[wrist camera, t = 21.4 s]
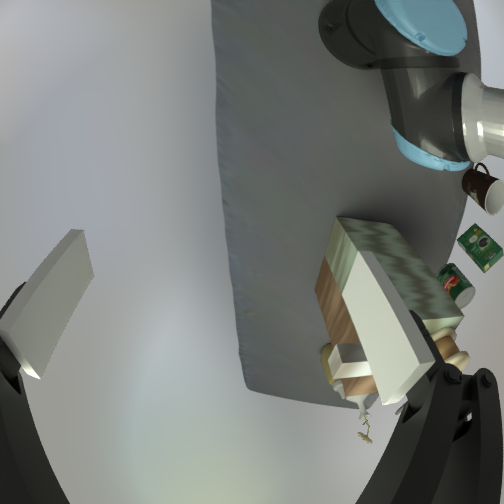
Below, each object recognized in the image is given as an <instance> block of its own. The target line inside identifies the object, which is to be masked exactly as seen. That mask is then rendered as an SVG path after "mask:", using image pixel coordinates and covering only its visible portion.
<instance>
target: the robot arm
mask: <svg viewBox="0 0 504 504" xmlns="http://www.w3.org/2000/svg"><path fill="white" fill-rule="evenodd" d="M319 32H320V36H321V39H322V41H323V43H324V44H325V46H326V48H327V49H328V50H329V51H330V53H331V54H332V55H333V56H335V57H336V58H337V59H338V60H340V61H341V62H343V63H344V64H346V65H348V66H351V67H353V68H357V69H363V70H370V69H378V68H380V70H381V74H382V78H383V82H384V86H385V90H386V94H387V99H388V104H389V108H390V113H391V126H392V129H393V130H394V135H395V140H396V144H397V146H398V148H399V150H400V151H401V153H402V154H403V155H404V156H405V157H407V158H408V159H410V160H411V161H413V162H415V163H417V164H419V165H422V166H425V167H428V168H431V169H436V170H443V169H447V170H449V171H459V170H463V169H465V168H466V167H468V166H469V164H470V162H475V163H478V162H480V161H481V160H482V159H483V158H485V157H486V156H487V155H493V156H497V157H500V158H503V159H504V89H498V88H492V87H487V86H486V85H484V84H483V83H482V81H481V80H480V79H479V78H478V77H477V76H476V75H475V74H473V73H465V72H461V69H460V65H459V60H458V56H457V54H458V53H459V52H460V51H461V50H462V49H463V48H464V47H465V42H464V41H465V40H467V29H466V24H465V21H464V18H463V16H462V14H461V12H460V10H459V9H458V7H457V6H456V4H455V3H454V2H453V0H333V1H332V2H330V3H329V4H328V5H327V6H326V7H325V8H324V9H323V11H322V12H321V15H320V18H319ZM93 277H94V274H93V270H92V266H91V262H90V258H89V253H88V249H87V245H86V240H85V235H84V230H75V229H71V230H70V231H69V232H68V233H67V235H66V236H65V237H64V238H63V239H62V240H61V241H60V242H59V243H58V244H57V246H56V247H55V248H54V249H53V250H52V251H51V253H50V254H49V255H48V256H47V257H46V258H45V260H44V261H43V262H42V263H41V264H40V266H39V267H38V268H37V269H36V271H35V272H34V273H33V274H32V276H31V277H30V278H29V280H28V281H27V282H24V283H23V284H22V285H20V286H19V287H18V288H17V289H16V290H15V291H14V293H13V294H12V295H11V297H10V299H8V301H7V302H6V305H4V307H3V308H2V310H1V311H0V504H70V503H69V501H68V500H67V498H66V496H65V494H64V492H63V490H62V488H61V486H60V485H59V482H58V480H57V478H56V476H55V474H54V472H53V470H52V468H51V465H50V463H49V461H48V458H47V456H46V454H45V451H44V449H43V446H42V444H41V441H40V438H39V436H38V433H37V430H36V427H35V424H34V421H33V418H32V414H31V411H30V408H29V404H28V400H27V397H26V393H25V389H24V384H23V380H22V377H21V374H20V372H19V369H20V367H21V366H22V368H23V369H24V370H25V372H26V373H27V374H28V375H31V376H33V377H36V378H38V379H41V378H42V376H43V373H44V371H45V369H46V366H47V364H48V362H49V360H50V358H51V355H52V353H53V351H54V349H55V347H56V345H57V342H58V341H59V339H60V337H61V335H62V333H63V331H64V329H65V327H66V325H67V323H68V321H69V319H70V317H71V315H72V313H73V312H74V310H75V308H76V306H77V304H78V303H79V301H80V299H81V297H82V295H83V294H84V292H85V290H86V289H87V287H88V285H89V284H90V282H91V280H92V279H93ZM342 296H343V298H344V301H345V303H346V305H347V308H348V310H349V313H350V315H351V318H352V320H353V323H354V326H355V328H356V331H357V333H358V336H359V339H360V341H361V344H362V347H363V349H364V352H365V355H366V358H367V360H368V363H369V366H370V369H371V372H372V375H373V378H374V380H375V383H376V386H377V389H378V392H379V395H380V398H381V402H382V404H383V405H386V404H391V403H396V402H399V400H401V398H403V396H405V395H406V396H407V398H408V401H407V402H406V403H405V404H404V405H403V406H402V407H400V408H399V409H398V410H397V412H396V413H395V414H396V415H398V414H399V413H400V412H401V411H402V412H401V415H400V417H399V420H398V422H397V425H396V427H395V429H394V432H393V434H392V436H391V438H390V441H389V443H388V445H387V447H386V449H385V451H384V453H383V456H382V457H381V460H380V462H379V463H378V465H377V467H376V469H375V471H374V473H373V475H372V477H371V478H370V480H369V482H368V484H367V485H366V487H365V489H364V490H363V492H362V494H361V495H360V497H359V499H358V500H357V502H356V503H355V504H500V496H501V486H502V471H503V435H502V419H501V408H500V400H499V393H498V386H497V381H496V378H495V376H494V375H493V373H492V372H491V371H490V370H488V369H486V368H481V369H479V370H478V371H477V372H476V373H475V374H474V375H464V374H462V372H461V371H460V370H459V368H458V367H456V366H455V365H454V364H451V363H445V361H444V359H443V357H442V355H441V354H440V352H439V350H438V348H437V346H436V344H435V342H434V340H433V339H432V337H431V336H430V333H429V331H428V330H427V329H426V326H425V324H424V323H423V321H422V319H421V318H420V317H419V316H418V315H417V314H416V313H415V312H414V311H413V310H408V309H407V307H406V305H405V304H404V302H403V300H402V299H401V297H400V295H399V294H398V292H397V290H396V289H395V287H394V285H393V284H392V282H391V281H390V279H389V277H388V276H387V274H386V273H385V271H384V270H383V268H382V266H381V265H380V263H379V262H378V260H377V259H376V257H375V256H374V254H373V253H372V252H370V251H359V250H358V253H357V255H356V258H355V261H354V264H353V267H352V269H351V272H350V275H349V277H348V280H347V283H346V285H345V288H344V290H343V293H342ZM470 413H472V419H471V420H469V421H467V416H468V415H469V414H470Z"/></svg>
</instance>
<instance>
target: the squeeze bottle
mask: <svg viewBox="0 0 504 504" xmlns="http://www.w3.org/2000/svg"><path fill="white" fill-rule="evenodd" d="M332 351H333V348H332V345H331V343H330V344H327V345H325V346H324V347H323V349H322V353H321V364H322V366H323V369H324V372H325V374H326V377H327V380H328V382H329V384H330V385H333V389H334V390H335V391H338V392H339V393H340V395H341V397H342V399H346V398H347V397H346V396H345V392H344V388H343V384H342V380H341V378H338V379H332V375H331V371H330V367H329V363H328V359H329V357H330V355H331V353H332Z"/></svg>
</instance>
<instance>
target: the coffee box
mask: <svg viewBox="0 0 504 504" xmlns="http://www.w3.org/2000/svg"><path fill="white" fill-rule="evenodd" d="M457 241H458V244H459V245H460V246H461V247H462V249H463V250H464V251H465V252H466V253H467V254H468V255H469V256H470V258H471V259H472V260H473V261H474V262H475V263H476V264H477V265H478V267H479V268H480V269H481V270H482V271H483V273H485V272H486V271H487V270H488V269H489V268H491V267H492V266H493V265H494V264H495V263H496V262H497V261H498V260H499V259H500V258H501V257H502V256H503V249H502V248H501V247H500V246H499V245H498V244H497V243H496V242H495V241H494V240H493V239H492V238H491V237H490V236H489V235H488V234H487V233H486V232H484V231H483V230H482V229H481V228H480V227H479V226H478V225H477V224H474V225H472V226H471V227H470V228H469V229H468V230H467V231H466V232H465V233H464V234H462V235H461V236H460V237H459V238H458V239H457Z"/></svg>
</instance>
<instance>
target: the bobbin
mask: <svg viewBox="0 0 504 504" xmlns="http://www.w3.org/2000/svg"><path fill="white" fill-rule="evenodd" d="M430 336H431V337H432V339H433V340H434V342H435V344H436V346H437V348H438V350H439V352H440V354H441V355H442V357H443V359H444V361H445V363H451V364H454V365H455V366H456V367H458V368H459V370H460V371H462V370H463V369H464V368H465V367H466V366H467V364H468V363H469V361H470V356H469V355H468V353H467V352H466V351H461V352H460V351H459V349H458V347H457V345H456V344H455V342H454V341H455V339H456V332H455V331H454V329H453V328H452V327H444V328H441V329H439V330H437V331H435V332H434V333H432V334H431V335H430ZM328 363H329V367H330V371H331V375H332V379H338V378H349V377H359V376H368V375H372V372H371V369H370V366H369V363H368V360H367V358H366V355H365V352H364V349H363V347H362V344H361V343H344V344H336V346H335V347H334V349H333V351H332V353H331V355H330V357H329V359H328Z"/></svg>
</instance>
